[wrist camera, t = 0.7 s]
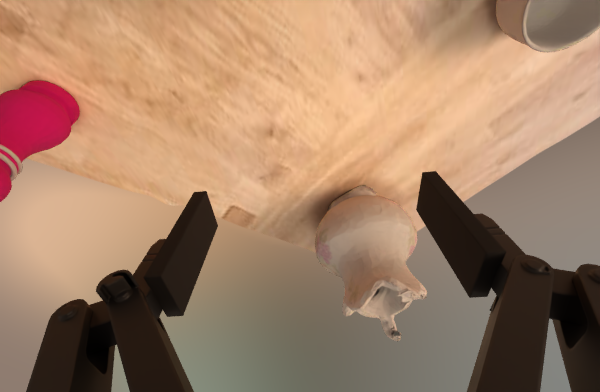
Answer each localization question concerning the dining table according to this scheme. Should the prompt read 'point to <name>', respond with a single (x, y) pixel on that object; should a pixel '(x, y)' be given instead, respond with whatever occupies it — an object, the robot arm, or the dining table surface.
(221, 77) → the dining table surface
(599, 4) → the teacup
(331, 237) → the ceramic pitcher
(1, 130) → the pepper mill
